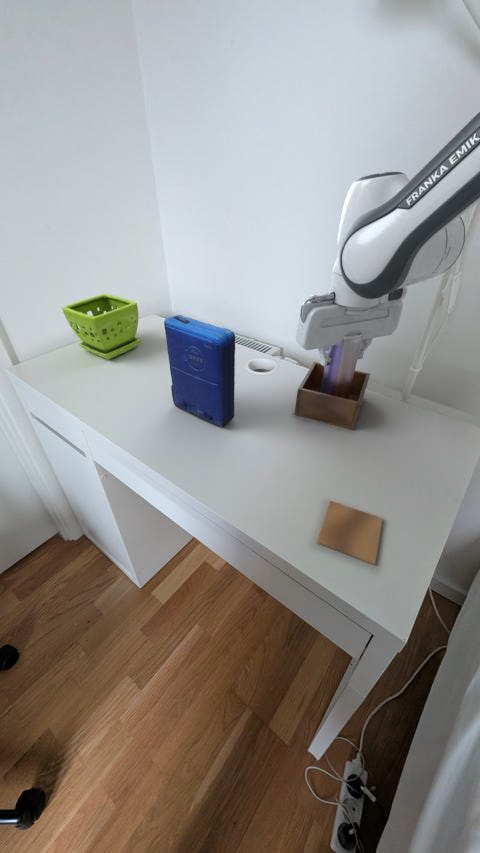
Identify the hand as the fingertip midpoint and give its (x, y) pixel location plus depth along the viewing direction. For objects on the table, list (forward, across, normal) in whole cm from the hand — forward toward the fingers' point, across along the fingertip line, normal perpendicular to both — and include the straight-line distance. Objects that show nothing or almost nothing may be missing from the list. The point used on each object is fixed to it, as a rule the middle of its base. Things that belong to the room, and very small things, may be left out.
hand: (341, 361), depth 67 cm
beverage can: (+9, 0, 0) cm, 9 cm away
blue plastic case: (+11, -27, +7) cm, 30 cm away
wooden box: (+11, 0, 0) cm, 11 cm away
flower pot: (+11, -44, +45) cm, 63 cm away
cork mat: (+11, -14, -28) cm, 33 cm away
